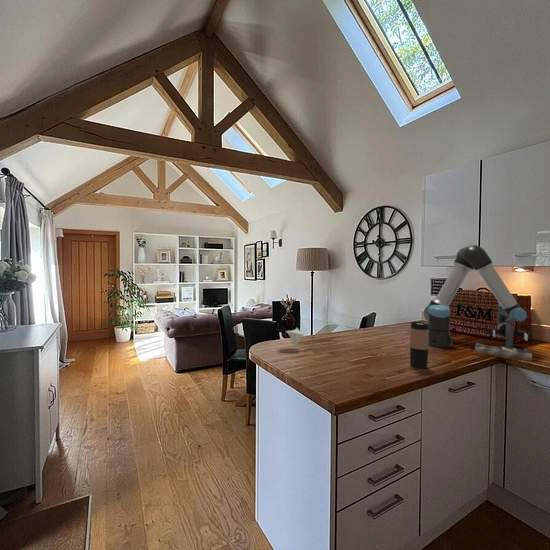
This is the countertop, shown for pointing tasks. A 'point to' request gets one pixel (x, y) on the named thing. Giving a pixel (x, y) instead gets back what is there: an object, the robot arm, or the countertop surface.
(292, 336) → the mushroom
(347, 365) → the countertop surface
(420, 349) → the travel mug
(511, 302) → the robot arm
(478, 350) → the rail base
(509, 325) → the slider
